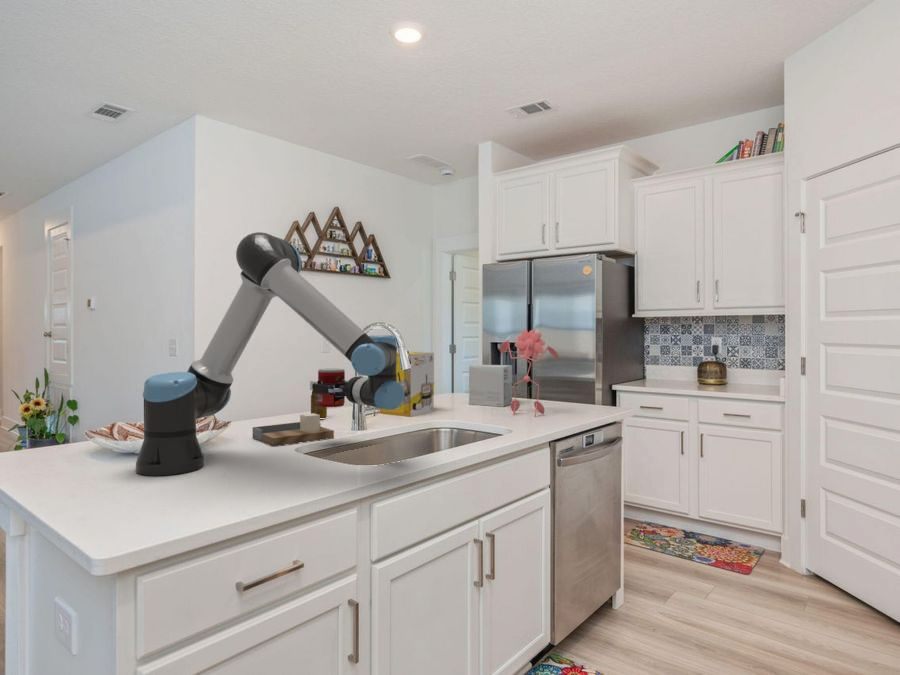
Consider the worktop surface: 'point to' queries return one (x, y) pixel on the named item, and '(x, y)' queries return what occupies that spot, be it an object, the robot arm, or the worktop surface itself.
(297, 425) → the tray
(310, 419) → the off-white block
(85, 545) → the worktop surface
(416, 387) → the packaging box
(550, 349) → the pink wire stick figure
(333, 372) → the canned food
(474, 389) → the supplement box
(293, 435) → the board
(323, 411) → the condiment
